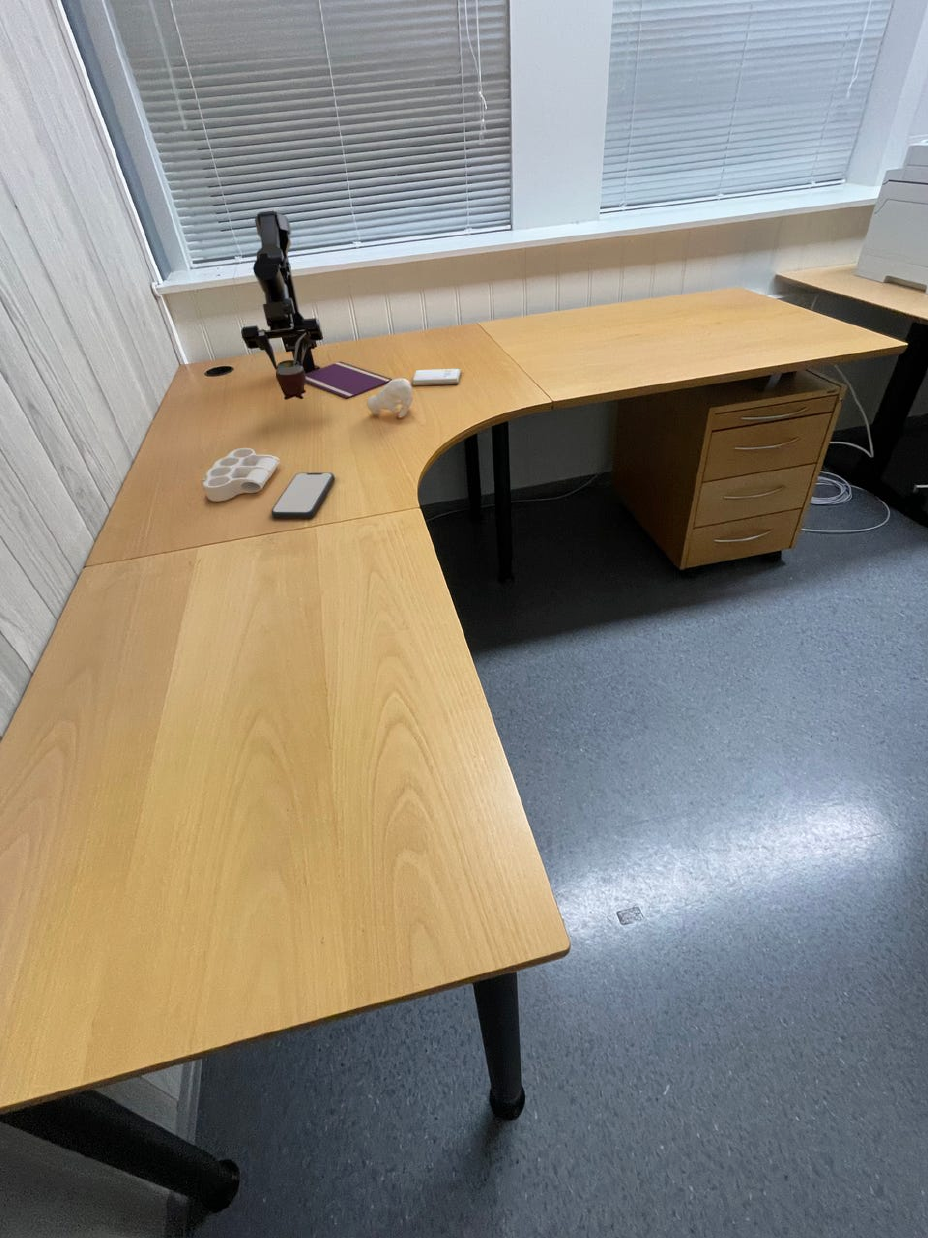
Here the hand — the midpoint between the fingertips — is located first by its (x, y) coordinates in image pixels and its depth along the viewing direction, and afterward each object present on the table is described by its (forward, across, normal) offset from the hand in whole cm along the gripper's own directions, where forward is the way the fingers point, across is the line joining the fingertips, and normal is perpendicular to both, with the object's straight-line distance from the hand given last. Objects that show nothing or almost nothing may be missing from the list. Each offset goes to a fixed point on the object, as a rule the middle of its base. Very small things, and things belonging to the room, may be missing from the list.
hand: (287, 366), depth 147 cm
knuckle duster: (+31, -12, -13) cm, 36 cm away
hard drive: (0, +38, +19) cm, 42 cm away
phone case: (+39, +3, -22) cm, 45 cm away
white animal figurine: (+13, +23, +5) cm, 27 cm away
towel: (-7, +11, +26) cm, 29 cm away
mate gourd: (+4, 0, +7) cm, 8 cm away
